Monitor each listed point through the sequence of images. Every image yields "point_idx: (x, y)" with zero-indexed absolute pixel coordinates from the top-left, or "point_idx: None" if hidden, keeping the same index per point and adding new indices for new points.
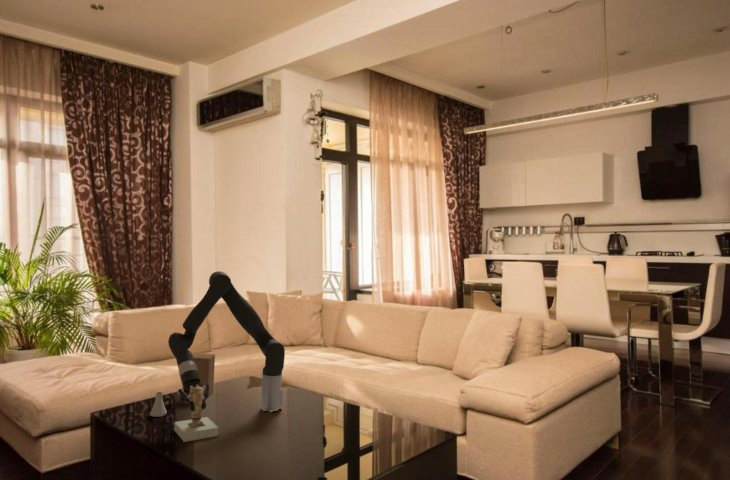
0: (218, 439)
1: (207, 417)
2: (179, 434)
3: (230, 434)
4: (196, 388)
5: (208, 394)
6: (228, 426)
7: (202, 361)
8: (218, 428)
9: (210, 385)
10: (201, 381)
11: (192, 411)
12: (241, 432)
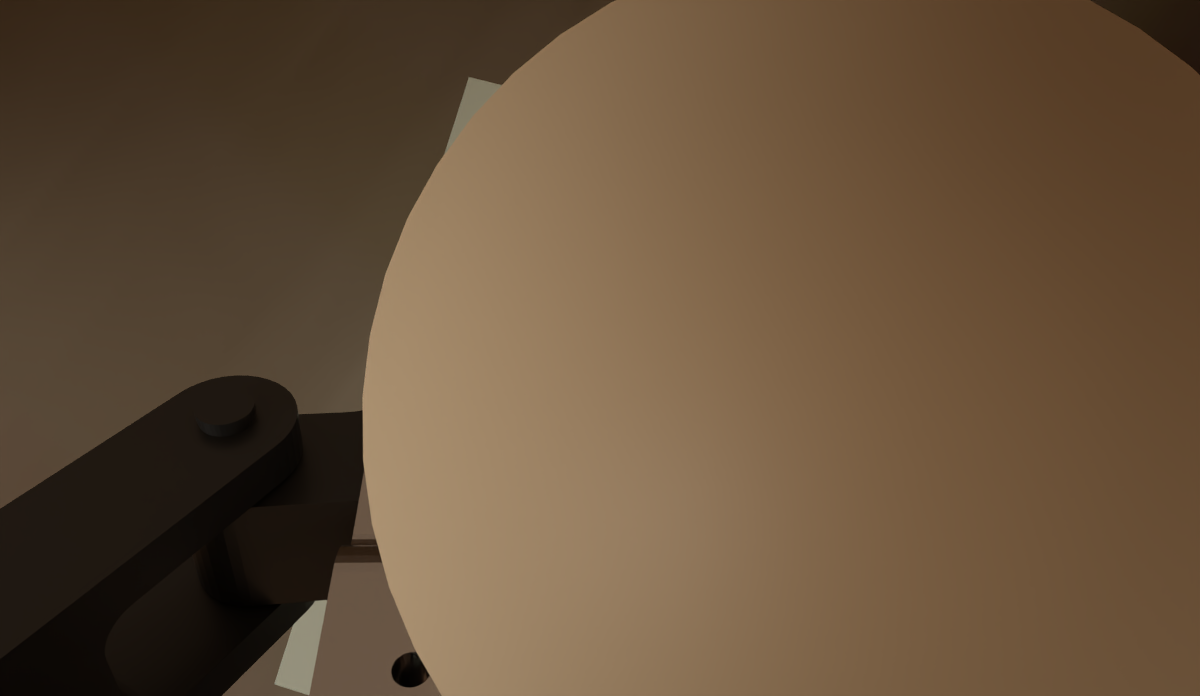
0: (573, 23)
1: (293, 651)
2: None
3: (330, 64)
4: (1002, 444)
5: (106, 448)
6: (138, 348)
7: None
8: (473, 83)
9: None
10: None
11: None
12: (169, 23)
